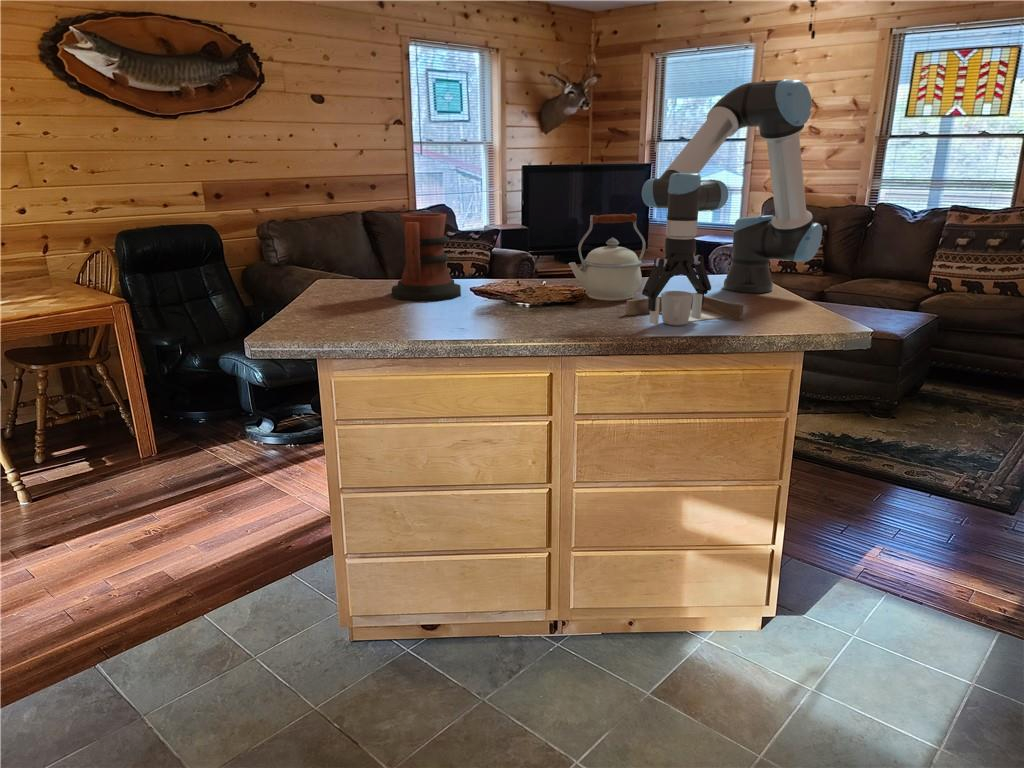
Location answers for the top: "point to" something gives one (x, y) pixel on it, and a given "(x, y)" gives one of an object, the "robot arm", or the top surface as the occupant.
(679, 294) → the cup
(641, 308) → the wooden corner frame
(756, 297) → the top surface
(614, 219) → the kettle
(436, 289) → the tankard
